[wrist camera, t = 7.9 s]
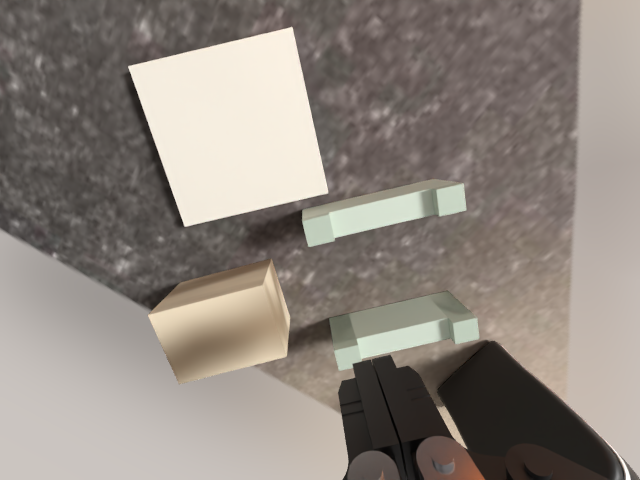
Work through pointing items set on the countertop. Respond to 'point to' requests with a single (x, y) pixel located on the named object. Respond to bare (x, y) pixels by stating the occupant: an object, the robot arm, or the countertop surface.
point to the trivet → (232, 126)
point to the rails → (406, 316)
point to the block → (223, 322)
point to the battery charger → (522, 414)
